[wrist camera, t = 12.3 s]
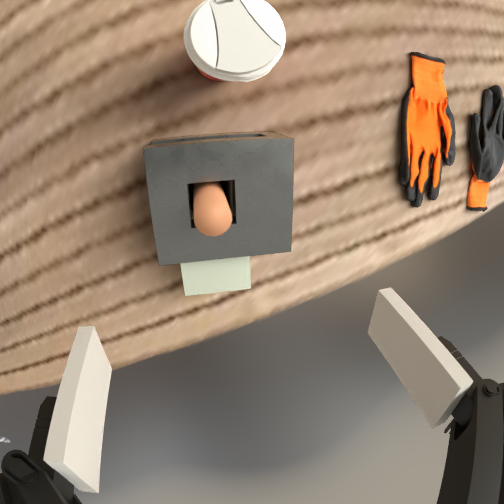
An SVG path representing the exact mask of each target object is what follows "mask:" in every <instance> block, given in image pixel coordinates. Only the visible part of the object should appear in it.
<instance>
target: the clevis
mask: <svg viewBox="0 0 504 504" xmlns="http://www.w3.org/2000/svg"><path fill="white" fill-rule="evenodd" d="M143 150H144V161H145V170H146V179H147V187H148V195H149V203H150V210H151V217H152V224H153V231H154V237H155V243H156V250H157V255H158V261H159V266H160V265H170V264H179V263H189V262H198V261H208V260H217V259H227V258H236V257H246V256H255V255H264V254H274V253H283V252H291V241H292V215H293V178H294V139H293V138H291V137H288V136H285V135H282V134H279V133H276V132H273V131H261V132H235V133H217V134H203V135H191V136H181V137H171V138H162V139H154V140H152V141H151V145H147V146H146V147H145V148H144V149H143ZM224 180H226V187H227V202H228V205H229V207H230V196H229V180H232V199H233V215H232V222H231V225H230V227H229V229H228V230H227V231H226V232H224V233H223V234H221V235H219V236H206V235H204V234H202V233H201V232H200V231H199V230H198V229H197V228H196V226H195V223H194V219H191V215H190V210H191V211H194V203H190V205H189V199H190V193H189V194H188V187H189V184H190V183H200V182H211V181H224Z"/></svg>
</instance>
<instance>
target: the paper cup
mask: <svg viewBox="0 0 504 504" xmlns="http://www.w3.org/2000/svg"><path fill="white" fill-rule="evenodd" d="M285 42H286V34H285V28H284V25H283V22H282V20H281V18H280V16H279V14H278V13H277V12H276V10H275V9H274V8H273V7H272V6H271V5H270V4H269V3H267V2H266V1H264V0H206V1H204V2H202V3H201V4H200V5H199V6H197V7H196V9H195V10H194V11H193V12H192V13H191V15H190V16H189V18H188V20H187V22H186V25H185V29H184V44H185V48H186V51H187V53H188V55H189V57H190V59H191V60H192V61H193V63H194V64H195V65H196V67H197V69H198V70H199V72H200V73H201V74H202V75H203V76H205V77H206V78H208V79H211V80H215V81H242V82H249V81H252V80H256V79H258V78H260V77H262V76H264V75H266V74H267V73H269V71H270V70H271V69H272V68H273V66H274V65H275V64H276V63H277V62H278V60H279V59H280V57H281V55H282V53H283V50H284V47H285Z"/></svg>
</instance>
